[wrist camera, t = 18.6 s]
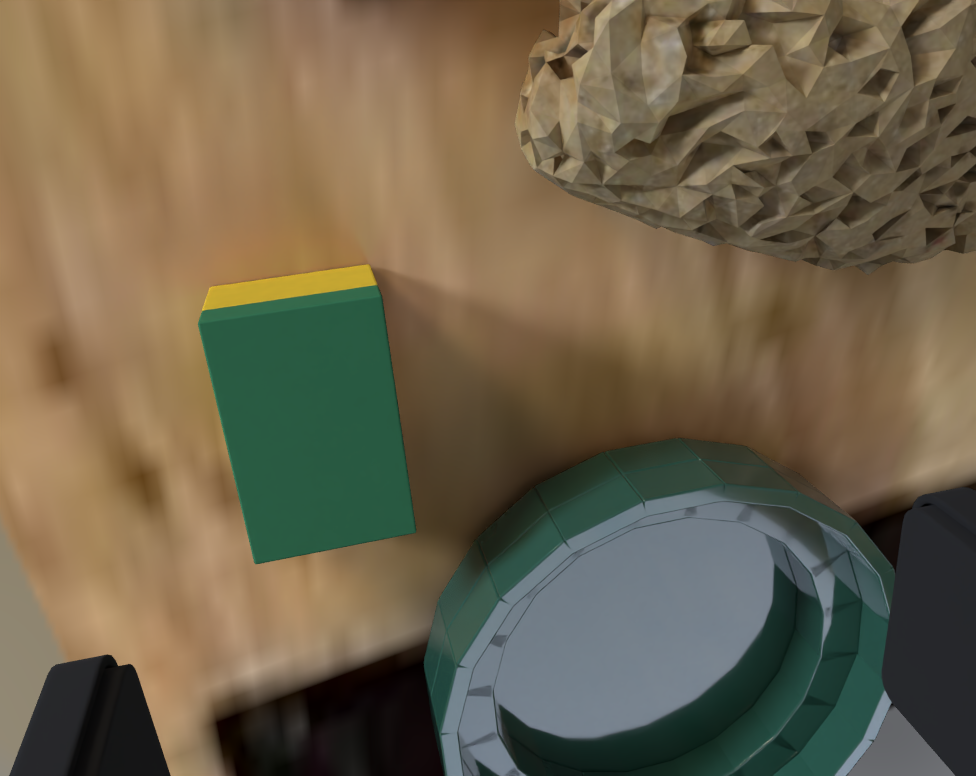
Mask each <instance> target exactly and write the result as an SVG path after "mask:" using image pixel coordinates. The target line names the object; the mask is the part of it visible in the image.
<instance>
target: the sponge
mask: <svg viewBox="0 0 976 776" xmlns="http://www.w3.org/2000/svg"><path fill="white" fill-rule="evenodd" d="M528 58H529V69H528V73H527V76H526V79H525V82H523V83H522V88H521V93H520V100H519V105H518V110H517V115H516V120H515V127H516V131H517V135H518V138H519V142H520V146H521V149H522V151H523V153H524V155H525V157H526V159H527V161H528V162H529V164H530V165H531V167H532V168H533V170H535V171H536V172H538V173H539V174H541V175H542V176H544V177H545V178H547V179H548V180H550V181H551V182H553V183H554V184H556V185H557V186H559V187H560V188H562V189H563V190H565V191H566V192H568V193H569V194H571V195H573V196H575V197H578V198H581V199H583V200H586V201H589V202H591V203H594V204H597V205H600V206H603V207H606V208H609V209H611V210H614V211H616V212H619V213H622V214H624V215H627V216H629V217H632V218H634V219H637V220H639V221H641V222H643V223H645V224H647V225H650V226H652V227H654V228H656V229H657V228H659V227H661V226H662V227H664V228H666V229H669V230H671V231H673V232H676V233H679V234H682V235H685V236H689V237H692V238H695V239H698V240H702V241H704V242H706V243H708V244H711V245H713V246H715V245H720V244H724V243H727V244H730V245H733V246H736V247H739V248H742V249H745V250H748V251H752V252H758V253H763V254H767V255H771V256H775V257H779V258H783V259H787V260H791V261H795V262H796V261H798V260H801V259H802V260H804V261H806V262H809V263H811V264H814V265H816V266H820V267H823V268H827V269H831V270H838V269H841V268H845V267H849V266H856V267H858V268H859V269H860V270H862V271H863V272H865V273H866V274H867V275H869V274H870V273H872V272H873V271H875V270H876V269H877V268H879V267H880V266H882V265H884V264H887V263H889V262H892V261H896V262H899V263H916V262H920V261H923V260H927V259H930V258H933V257H934V256H935V255H937V254H938V253H940V252H941V251H942V250H950V251H955V252H959V253H963V254H964V253H968V252H972V251H976V0H560V13H559V37H556V36H555V35H553V34H552V33H551V32H548V31H546V30H543V31H542V33H541V34H540V36H539V38H538V39H537V41H536V42H535V44H534V46H533V49H532V51H531V53H530V55H529V57H528Z"/></svg>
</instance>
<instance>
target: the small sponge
mask: <svg viewBox="0 0 976 776" xmlns="http://www.w3.org/2000/svg"><path fill="white" fill-rule="evenodd" d="M198 327H199V331H200V335H201V339H202V343H203V348H204V352H205V356H206V360H207V365H208V369H209V373H210V377H211V381H212V386H213V390H214V394H215V398H216V403H217V407H218V411H219V415H220V420H221V424H222V428H223V432H224V436H225V441H226V445H227V449H228V453H229V458H230V462H231V466H232V470H233V475H234V479H235V483H236V487H237V491H238V496H239V500H240V504H241V508H242V513H243V517H244V521H245V525H246V529H247V534H248V538H249V542H250V546H251V551H252V555H253V559H254V563H255V564H260V563H265V562H270V561H275V560H280V559H286V558H291V557H296V556H301V555H306V554H311V553H316V552H321V551H326V550H331V549H336V548H341V547H346V546H351V545H357V544H362V543H367V542H372V541H377V540H382V539H387V538H392V537H397V536H402V535H407V534H412V533H416V524H415V518H414V511H413V504H412V497H411V490H410V483H409V477H408V470H407V463H406V456H405V449H404V443H403V436H402V429H401V422H400V415H399V408H398V402H397V395H396V388H395V381H394V374H393V367H392V361H391V354H390V347H389V340H388V333H387V327H386V320H385V313H384V306H383V299H382V295H381V292H380V290H379V287H378V285H377V282H376V279H375V277H374V274H373V272H372V269H371V266H370V265H369V264H367V265H360V266H353V267H346V268H339V269H332V270H325V271H318V272H311V273H304V274H297V275H290V276H283V277H276V278H269V279H262V280H255V281H248V282H241V283H234V284H227V285H220V286H213V287H210V289H209V292H208V295H207V298H206V301H205V304H204V307H203V310H202V313H201V316H200V319H199V322H198Z"/></svg>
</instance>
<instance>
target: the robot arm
mask: <svg viewBox="0 0 976 776" xmlns="http://www.w3.org/2000/svg"><path fill="white" fill-rule="evenodd" d="M881 677H882V682H883V686H884V689H885V691H886V693H887V695H888V697H889V699H890V700H891V702H892V703H893V704H894V706H895V707H896V708H897V709H898V710H899V711H900V712H901V714H902V715H903V716H904V717H905V718H906V719H907V720H908V722H909V723H910V724H911V725H912V726H913V727H914V728H915V730H916V731H917V732H918V733H919V734H920V735H921V736H922V738H923V739H924V740H925V741H926V742H927V743H928V745H929V746H930V747H931V748H932V749H933V750H934V751H935V752H936V754H937V755H938V756H939V757H940V758H941V759H942V761H943V762H944V763H945V764H946V765H947V766H948V767H949V769H950V770H951V771H952V772H953V773H954V774H955V776H976V491H974V490H972V489H970V488H963V487H961V488H956V489H951V490H946V491H940V492H935V493H930V494H925V495H922V496H920V497H918V498H917V500H916V501H915V502H914V504H913V508H912V509H911V510H909V511H908V512H907V513H906V514H905V516H904V520H903V526H902V533H901V540H900V546H899V553H898V560H897V567H896V574H895V581H894V588H893V595H892V602H891V609H890V616H889V623H888V630H887V636H886V643H885V650H884V657H883V664H882V675H881ZM9 776H170V773H169V770H168V767H167V763H166V760H165V757H164V754H163V751H162V748H161V745H160V742H159V739H158V736H157V733H156V730H155V727H154V724H153V721H152V718H151V715H150V712H149V709H148V706H147V703H146V700H145V696H144V693H143V690H142V687H141V684H140V681H139V678H138V675H137V673H136V670H135V668H134V667H133V665H131V664H127V665H122V666H118V665H117V663H116V660H115V659H114V658H113V657H112V655H103V656H98V657H93V658H87V659H82V660H77V661H72V662H67V663H62V664H57V665H55V666H53V667H52V668H51V670H50V672H49V673H48V675H47V678H46V680H45V683H44V686H43V688H42V691H41V694H40V696H39V699H38V702H37V704H36V707H35V710H34V712H33V715H32V718H31V720H30V723H29V725H28V728H27V731H26V733H25V736H24V739H23V741H22V744H21V746H20V749H19V752H18V755H17V757H16V760H15V762H14V765H13V767H12V770H11V773H10V775H9Z"/></svg>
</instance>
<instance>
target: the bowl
mask: <svg viewBox="0 0 976 776" xmlns="http://www.w3.org/2000/svg"><path fill="white" fill-rule="evenodd" d="M894 581H895V571H894V568H893V567H892V564H891V563H890V562H889V561H888V559H887V558H886V557H885V556H884V554H883V553H882V552H881V551H880V550H879V548H878V547H877V546H876V545H875V543H874V542H873V541H872V540H871V538H870V537H869V536H868V535H867V533H866V532H865V531H864V530H863V528H862V527H861V526H860V525H859V523H858V522H857V521H856V520H854V519H853V518H852V517H851V516H850V515H848V514H847V513H846V512H845V511H844V510H842V509H841V508H840V507H839V506H837V505H836V504H835V503H834V502H833V501H831V500H830V499H829V498H828V497H826V496H825V495H824V494H823V493H822V492H820V491H819V490H818V489H817V488H815V487H814V486H813V485H812V484H811V483H809V482H808V481H807V480H806V479H805V478H803V477H802V476H801V475H800V474H798V473H797V472H795V471H793V470H791V469H789V468H787V467H785V466H783V465H781V464H779V463H778V462H776V461H774V460H772V459H770V458H768V457H766V456H764V455H762V454H760V453H758V452H756V451H755V450H753V449H751V448H749V447H747V446H742V445H734V444H726V443H718V442H709V441H701V440H693V439H685V438H678V439H677V438H674V439H668V440H663V441H658V442H652V443H647V444H642V445H636V446H631V447H626V448H620V449H615V450H610V451H606V452H605V453H604V452H602V453H600V454H598V455H596V456H594V457H592V458H590V459H588V460H586V461H584V462H582V463H580V464H578V465H576V466H574V467H572V468H570V469H568V470H566V471H564V472H562V473H560V474H558V475H556V476H554V477H552V478H550V479H548V480H546V481H544V482H542V483H540V484H538V485H536V486H535V488H532V489H531V490H529V491H528V492H527V493H526V494H525V495H524V496H523V497H522V498H521V499H519V500H518V501H517V502H516V503H515V504H514V505H513V506H512V507H511V508H509V509H508V510H507V511H506V512H505V513H504V514H503V515H502V516H501V517H499V518H498V519H497V520H496V521H495V522H494V523H493V524H492V525H491V526H489V527H488V528H487V529H486V530H485V531H484V532H483V533H482V534H481V535H479V536H478V538H477V539H476V540H475V541H474V542H473V544H472V546H471V547H470V549H469V551H468V552H467V554H466V556H465V557H464V559H463V560H462V562H461V564H460V565H459V567H458V569H457V570H456V572H455V573H454V575H453V577H452V578H451V580H450V582H449V583H448V585H447V586H446V588H445V590H444V591H443V593H442V595H441V596H440V598H439V600H438V602H437V606H436V611H435V615H434V619H433V624H432V628H431V632H430V637H429V641H428V646H427V650H426V654H425V659H424V671H425V677H426V684H427V690H428V697H429V703H430V710H431V716H432V722H433V727H434V731H435V736H436V740H437V745H438V750H439V754H440V759H441V764H442V768H443V773H444V776H847V775H848V773H849V772H850V771H851V770H852V768H853V767H854V766H855V765H856V763H857V762H858V761H859V759H860V758H861V757H862V756H863V754H864V753H865V752H866V751H867V749H868V748H869V747H870V746H871V744H872V743H873V742H874V740H875V739H876V737H877V735H878V732H879V730H880V728H881V726H882V723H883V721H884V719H885V717H886V714H887V712H888V710H889V708H890V706H891V703H892V702H891V700H890V699H889V697H888V695H887V693H886V691H885V689H884V686H883V682H882V677H881V675H882V664H883V657H884V650H885V643H886V636H887V630H888V623H889V616H890V609H891V602H892V595H893V588H894Z"/></svg>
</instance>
